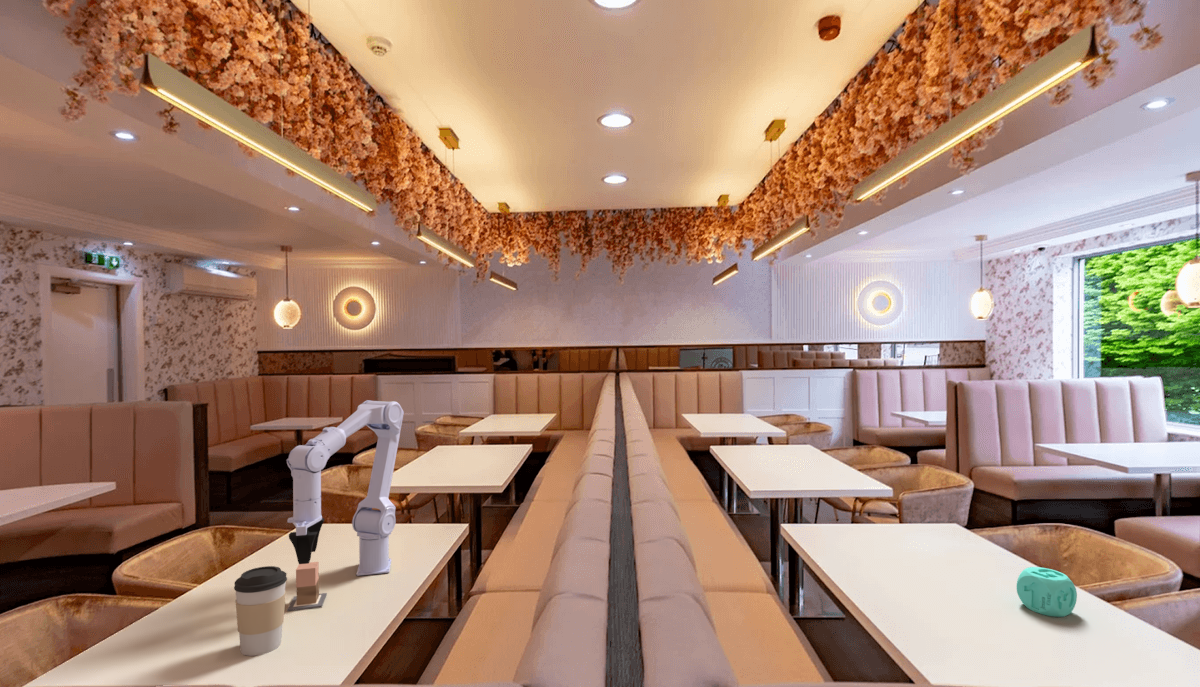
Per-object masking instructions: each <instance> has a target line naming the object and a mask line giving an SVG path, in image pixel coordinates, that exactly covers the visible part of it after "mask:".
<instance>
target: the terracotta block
mask: <svg viewBox="0 0 1200 687" xmlns="http://www.w3.org/2000/svg"><path fill="white" fill-rule="evenodd" d="M318 579H319V580H320V578H319V561H311V562H309V563H308V564H299V563H298V566H297V567H296V569H295V588H296V589H297V587H306V586H315V585H316V583H317V581H318Z"/></svg>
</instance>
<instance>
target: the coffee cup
mask: <svg viewBox="0 0 1200 687" xmlns="http://www.w3.org/2000/svg"><path fill="white" fill-rule="evenodd" d="M287 580H288V577H287V573H286V572H285V571H283V570H282V569H281V568H280V567H279V566H275V565H274V566H272V565H270V566H269V565H267V566H259V567H254V568H252V569H248V570H246V571H244V572H243V573H241V575H240V576H239V577H238V578H236V579H235V581H234V582H233V583H234V586H233V589H234V591H235V601H234V602H235V613H236V623H237V624H236V625H237V632H238V635H239V645H240V646H239V647H240V653H241V654H242V655H243V656H253V657H254V656H260V655H264V654H267V653H271V652H272V651H275V650H277V648H279V647H280V646H281V645H282V644H281V643H282V637H283V636H282V635H283V634H282V633H283V624H284V620H285V605H286V604H285V603H286V593H287V591H286V583H287Z"/></svg>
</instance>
